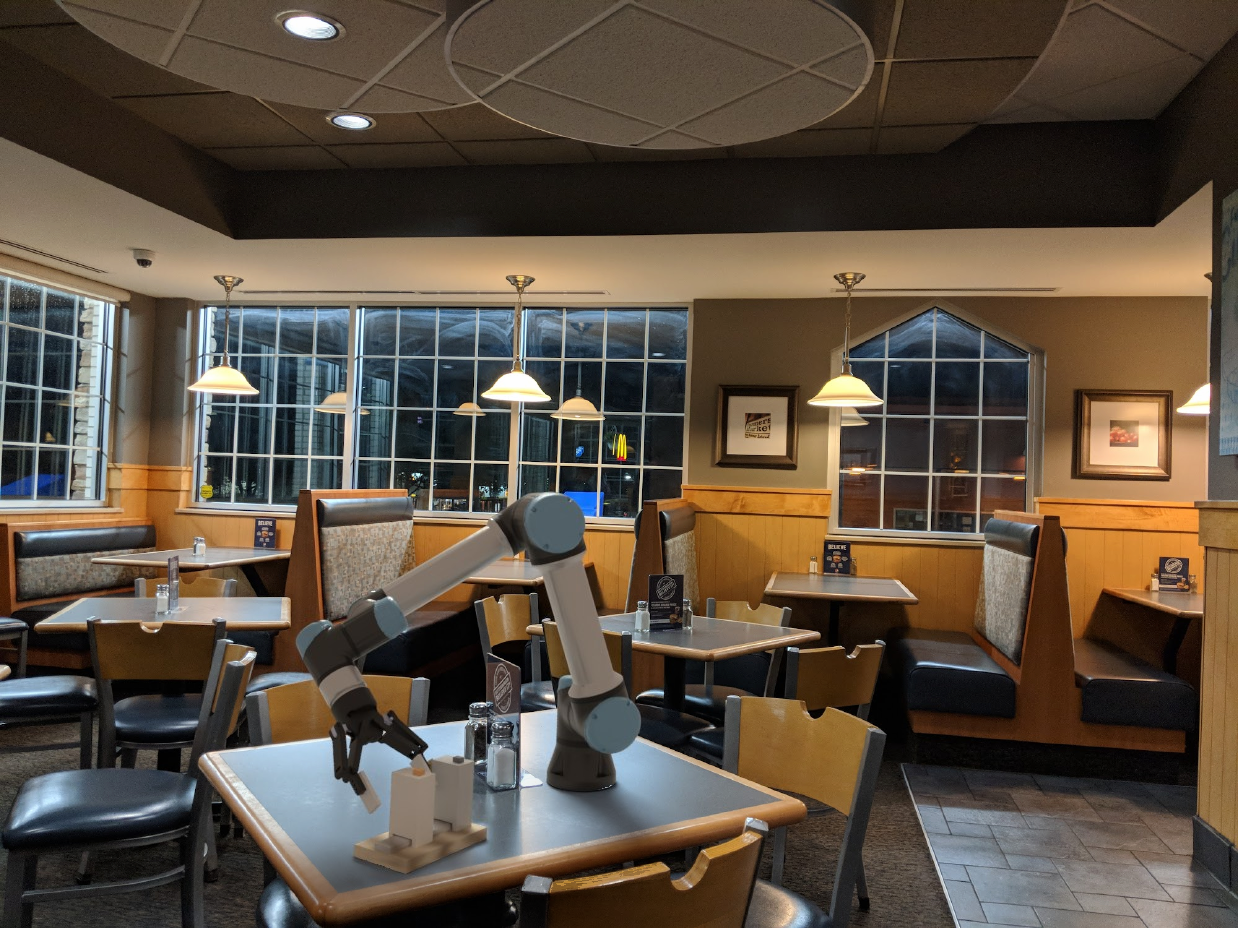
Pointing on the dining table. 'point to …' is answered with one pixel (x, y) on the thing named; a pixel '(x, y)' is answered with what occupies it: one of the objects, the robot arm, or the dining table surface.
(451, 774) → the fitted module
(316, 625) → the robot arm
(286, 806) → the dining table surface
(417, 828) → the block
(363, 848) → the rail board
